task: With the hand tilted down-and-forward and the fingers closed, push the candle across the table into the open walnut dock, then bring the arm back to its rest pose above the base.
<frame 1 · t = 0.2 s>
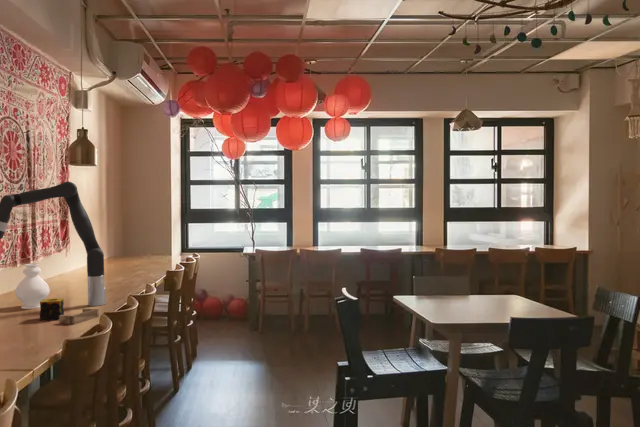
dock: (73, 319, 295), on the table
decorative vase: (33, 307, 332), on the table
candle: (52, 319, 299), on the table
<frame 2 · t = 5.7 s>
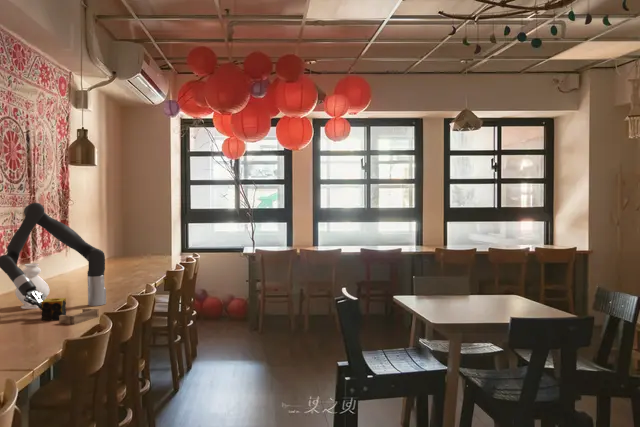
hand: (44, 309, 300), 5 cm above the table, tool tilted 45°, fingers closed
candle: (54, 318, 299), on the table
everything else where it was.
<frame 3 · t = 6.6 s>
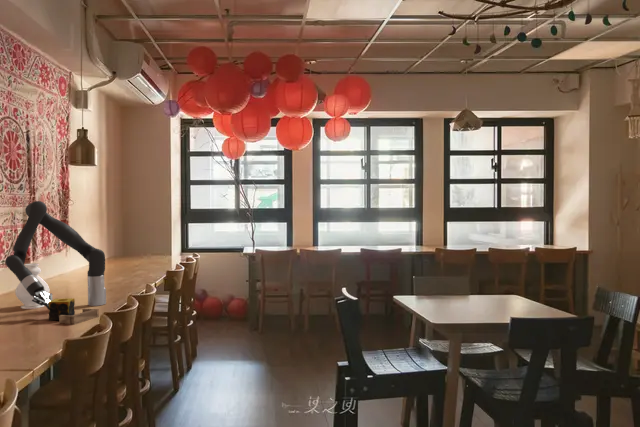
hand: (52, 309, 298), 5 cm above the table, tool tilted 45°, fingers closed
candle: (62, 319, 297), on the table, touching gripper
everything else where it was.
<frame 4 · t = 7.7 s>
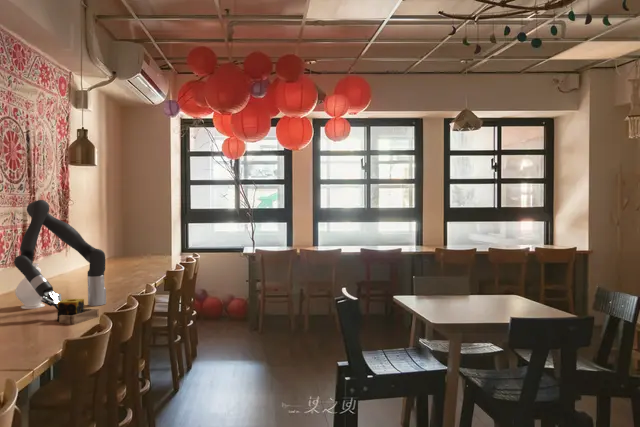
hand: (61, 309, 297), 5 cm above the table, tool tilted 45°, fingers closed
candle: (71, 319, 296), on the table
everything else where it was.
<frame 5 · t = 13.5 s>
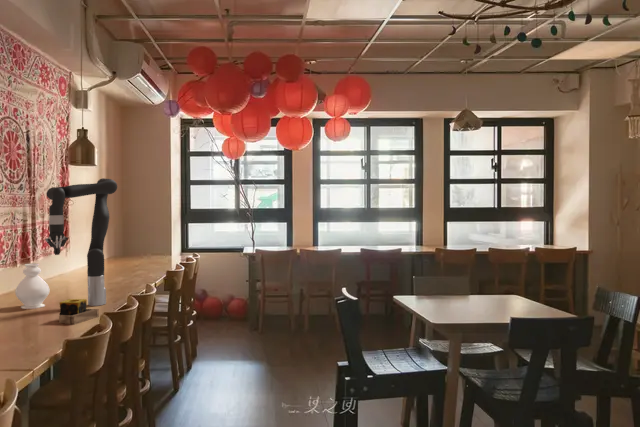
hand: (57, 254, 314), 32 cm above the table, tool pointing down, fingers closed
candle: (73, 320, 296), on the table
everything else where it was.
at the end: candle 0.4 cm from the dock (horizontally); candle tilted 0°; candle touching table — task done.
